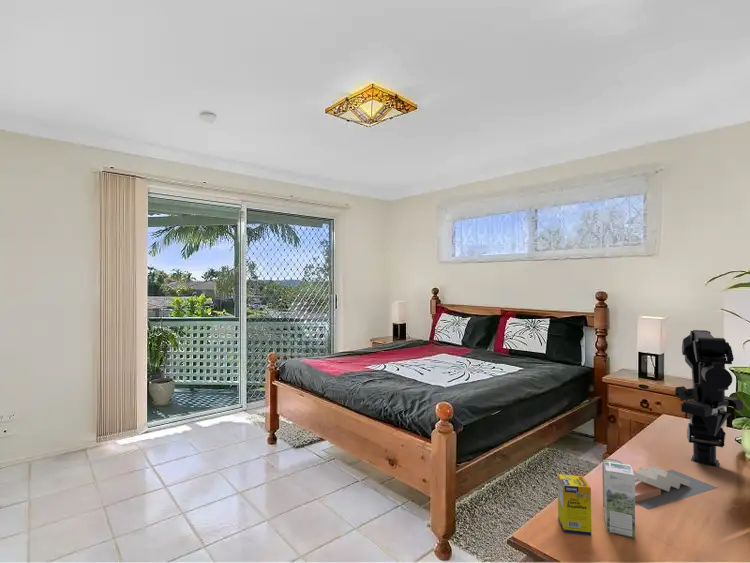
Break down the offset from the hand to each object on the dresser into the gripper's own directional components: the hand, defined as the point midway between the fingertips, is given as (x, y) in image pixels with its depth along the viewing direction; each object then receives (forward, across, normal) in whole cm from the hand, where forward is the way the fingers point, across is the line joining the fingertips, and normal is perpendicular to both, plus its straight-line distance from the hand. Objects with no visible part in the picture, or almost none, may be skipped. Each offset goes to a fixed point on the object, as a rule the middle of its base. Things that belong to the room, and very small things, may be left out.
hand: (712, 435), depth 118 cm
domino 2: (+12, +15, -3) cm, 19 cm away
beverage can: (+13, +40, 0) cm, 42 cm away
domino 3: (+12, +11, -2) cm, 16 cm away
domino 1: (+12, +19, -3) cm, 22 cm away
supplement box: (+13, +55, +1) cm, 56 cm away
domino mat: (+13, +18, -3) cm, 23 cm away
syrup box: (+13, +46, +6) cm, 48 cm away
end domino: (+12, +22, -3) cm, 25 cm away
